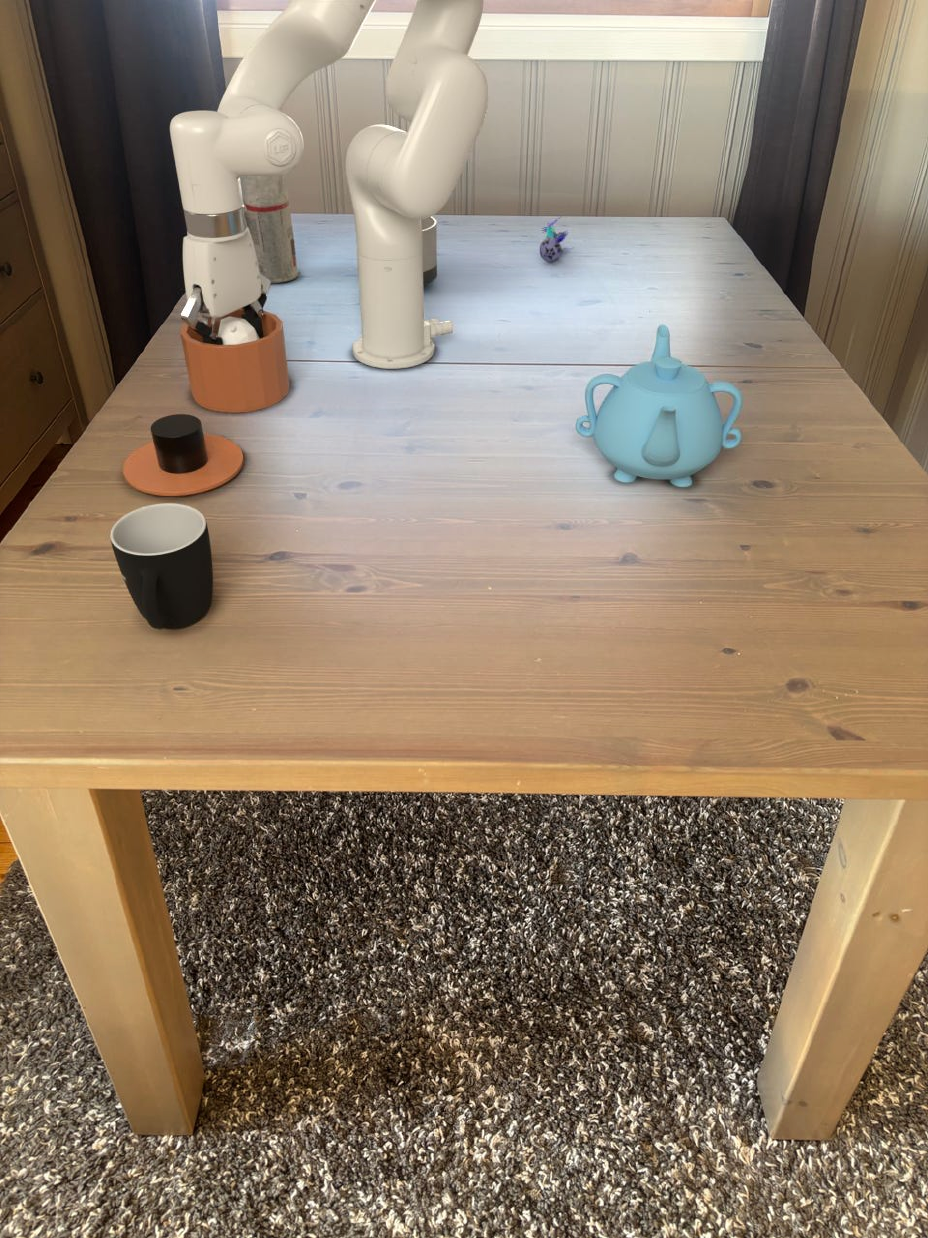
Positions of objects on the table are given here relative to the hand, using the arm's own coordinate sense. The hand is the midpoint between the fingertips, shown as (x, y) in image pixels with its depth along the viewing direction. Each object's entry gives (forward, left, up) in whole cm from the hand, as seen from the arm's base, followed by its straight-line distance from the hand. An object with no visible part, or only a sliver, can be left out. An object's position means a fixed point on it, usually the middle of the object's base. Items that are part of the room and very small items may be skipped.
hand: (235, 352), depth 131 cm
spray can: (-20, -42, -6) cm, 47 cm away
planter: (-39, -29, -6) cm, 49 cm away
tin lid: (+13, +18, -5) cm, 23 cm away
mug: (+22, +47, -6) cm, 52 cm away
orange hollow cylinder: (0, 0, -6) cm, 6 cm away
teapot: (-40, +44, -6) cm, 60 cm away
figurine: (-72, -29, -6) cm, 78 cm away
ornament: (0, 0, -2) cm, 2 cm away
